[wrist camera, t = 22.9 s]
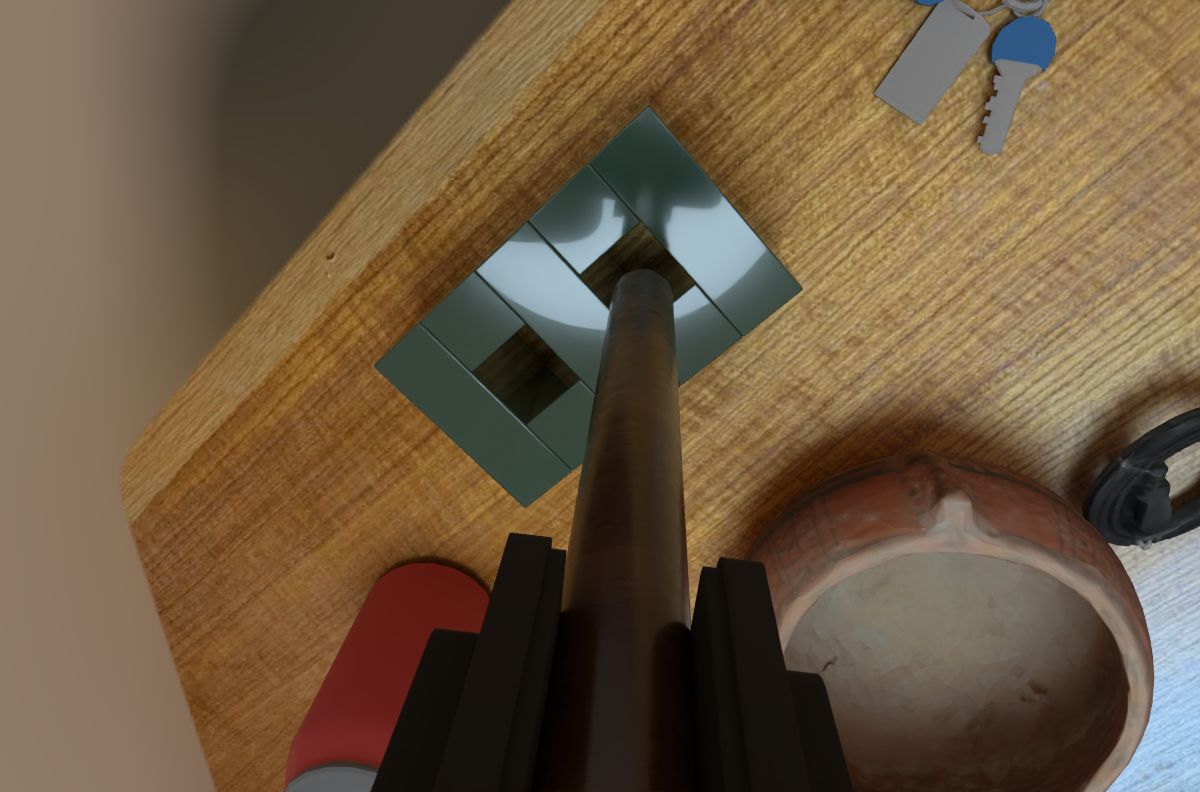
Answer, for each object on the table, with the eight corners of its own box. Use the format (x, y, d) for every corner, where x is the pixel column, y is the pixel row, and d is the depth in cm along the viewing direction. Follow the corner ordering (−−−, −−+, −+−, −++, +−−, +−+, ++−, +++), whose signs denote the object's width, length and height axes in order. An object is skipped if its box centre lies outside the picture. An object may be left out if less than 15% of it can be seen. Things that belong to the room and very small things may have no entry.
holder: (544, 437, 36) (524, 509, 30) (417, 313, 34) (372, 366, 28) (778, 246, 32) (804, 289, 26) (649, 92, 30) (648, 104, 24)
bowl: (925, 341, 33) (1030, 456, 24) (1135, 572, 37) (1296, 748, 28) (650, 559, 38) (649, 723, 29) (860, 742, 42) (918, 937, 33)
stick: (607, 321, 24) (448, 1243, 6) (616, 263, 23) (468, 1115, 5) (666, 331, 24) (693, 1281, 6) (678, 273, 23) (750, 1159, 5)
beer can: (367, 548, 39) (255, 748, 28) (503, 563, 39) (444, 770, 28) (370, 654, 41) (269, 875, 30) (497, 669, 41) (442, 895, 30)
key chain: (1214, -191, 25) (1231, -198, 24) (1225, 76, 28) (1240, 77, 27) (776, -25, 28) (779, -27, 27) (829, 203, 31) (833, 207, 30)
